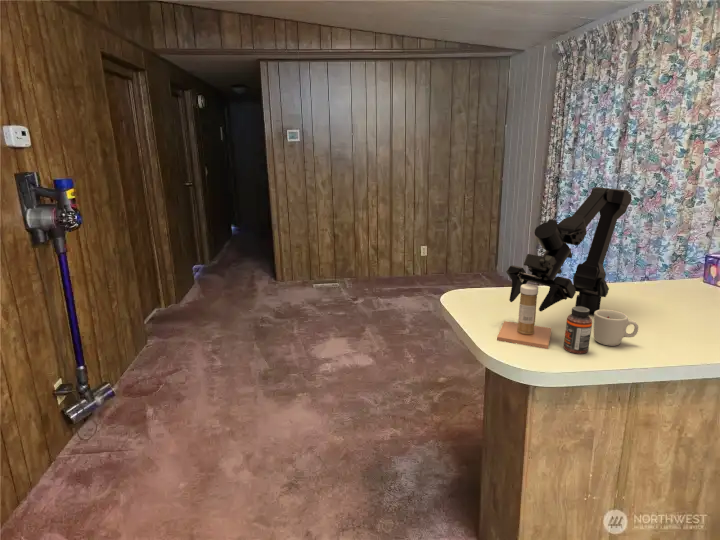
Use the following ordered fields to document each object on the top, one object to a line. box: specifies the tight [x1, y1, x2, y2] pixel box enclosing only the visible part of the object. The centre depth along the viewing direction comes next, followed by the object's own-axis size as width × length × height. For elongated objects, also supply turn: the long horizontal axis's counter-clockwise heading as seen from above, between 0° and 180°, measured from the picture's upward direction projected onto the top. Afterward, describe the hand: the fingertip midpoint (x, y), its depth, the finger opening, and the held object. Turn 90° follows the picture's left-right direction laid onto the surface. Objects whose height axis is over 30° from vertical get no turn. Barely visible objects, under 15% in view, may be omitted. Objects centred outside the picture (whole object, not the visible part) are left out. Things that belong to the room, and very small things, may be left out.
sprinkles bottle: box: [517, 283, 539, 335], centre depth 130 cm, size 5×5×13 cm
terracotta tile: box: [496, 320, 552, 350], centre depth 132 cm, size 13×13×1 cm
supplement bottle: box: [563, 306, 593, 355], centre depth 122 cm, size 6×6×11 cm
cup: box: [593, 309, 639, 347], centre depth 127 cm, size 11×8×8 cm
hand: (524, 305), depth 129 cm, fingers open, 9 cm apart
